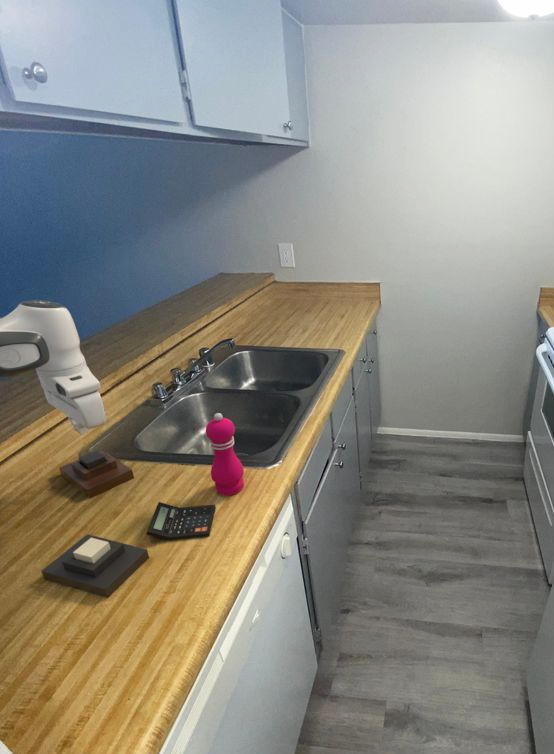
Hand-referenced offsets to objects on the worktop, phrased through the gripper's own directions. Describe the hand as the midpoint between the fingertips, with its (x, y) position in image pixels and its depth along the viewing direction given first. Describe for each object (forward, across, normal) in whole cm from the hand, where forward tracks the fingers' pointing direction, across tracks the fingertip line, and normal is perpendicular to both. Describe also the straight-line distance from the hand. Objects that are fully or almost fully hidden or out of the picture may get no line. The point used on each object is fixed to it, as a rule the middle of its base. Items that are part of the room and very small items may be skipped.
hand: (81, 431), depth 107 cm
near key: (+9, +30, -13) cm, 34 cm away
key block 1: (+13, 0, 0) cm, 13 cm away
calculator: (+13, +31, +3) cm, 34 cm away
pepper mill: (+12, +28, +17) cm, 35 cm away
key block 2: (+13, +30, -13) cm, 35 cm away
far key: (+9, 0, 0) cm, 9 cm away
